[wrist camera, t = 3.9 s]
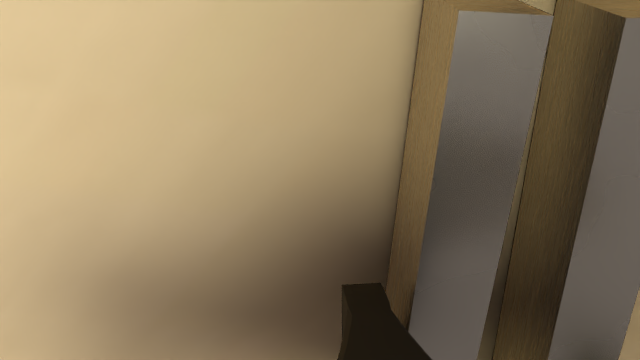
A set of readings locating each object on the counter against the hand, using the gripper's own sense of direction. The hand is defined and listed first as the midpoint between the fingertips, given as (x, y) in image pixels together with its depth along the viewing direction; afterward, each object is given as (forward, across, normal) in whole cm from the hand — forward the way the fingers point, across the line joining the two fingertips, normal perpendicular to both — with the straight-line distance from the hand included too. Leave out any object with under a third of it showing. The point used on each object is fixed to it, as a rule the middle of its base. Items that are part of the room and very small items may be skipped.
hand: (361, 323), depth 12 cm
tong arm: (+1, -1, 0) cm, 2 cm away
